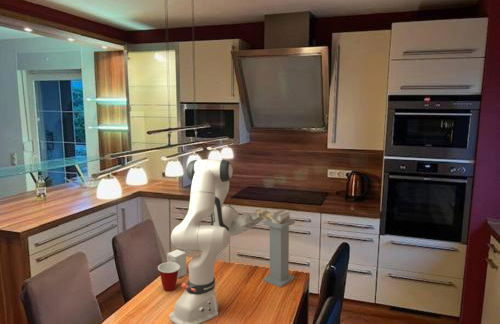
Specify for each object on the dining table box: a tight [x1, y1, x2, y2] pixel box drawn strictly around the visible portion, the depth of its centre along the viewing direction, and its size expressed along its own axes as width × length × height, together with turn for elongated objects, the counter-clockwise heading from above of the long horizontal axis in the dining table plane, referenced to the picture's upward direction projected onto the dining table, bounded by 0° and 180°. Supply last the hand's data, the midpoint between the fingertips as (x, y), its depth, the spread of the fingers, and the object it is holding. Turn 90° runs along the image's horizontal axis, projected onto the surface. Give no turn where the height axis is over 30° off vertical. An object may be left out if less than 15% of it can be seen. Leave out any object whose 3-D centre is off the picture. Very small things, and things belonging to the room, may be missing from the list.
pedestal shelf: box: [263, 218, 296, 288], centre depth 189 cm, size 12×11×32 cm
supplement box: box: [166, 249, 188, 280], centre depth 197 cm, size 7×7×13 cm
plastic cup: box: [157, 262, 180, 292], centre depth 182 cm, size 11×11×12 cm
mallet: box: [254, 208, 291, 224], centre depth 189 cm, size 18×8×5 cm, turn 50°
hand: (263, 213), depth 192 cm, fingers open, 4 cm apart
